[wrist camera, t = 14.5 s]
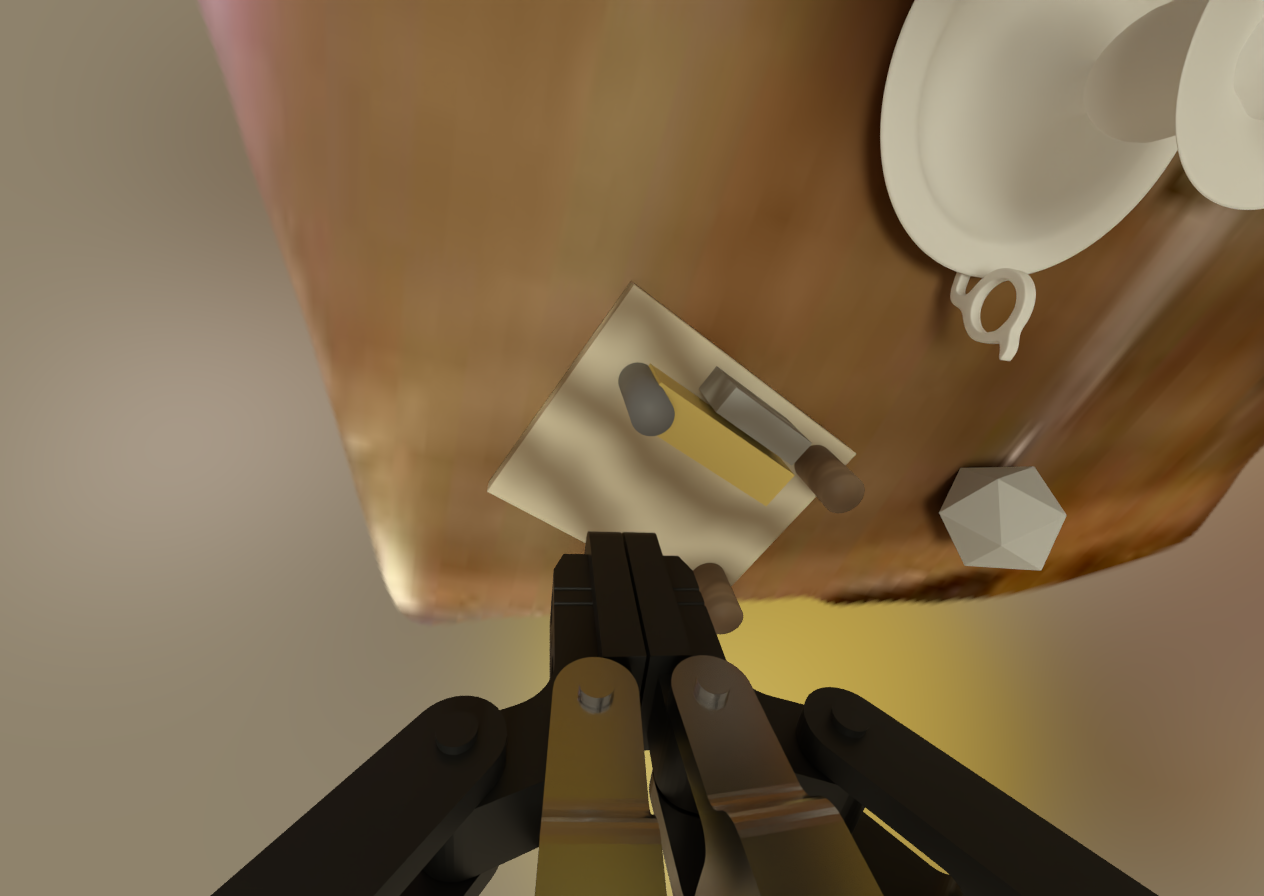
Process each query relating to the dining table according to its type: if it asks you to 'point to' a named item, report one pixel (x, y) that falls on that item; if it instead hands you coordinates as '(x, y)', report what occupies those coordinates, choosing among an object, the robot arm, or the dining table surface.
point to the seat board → (669, 455)
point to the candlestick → (1062, 128)
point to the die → (1002, 517)
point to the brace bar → (700, 432)
